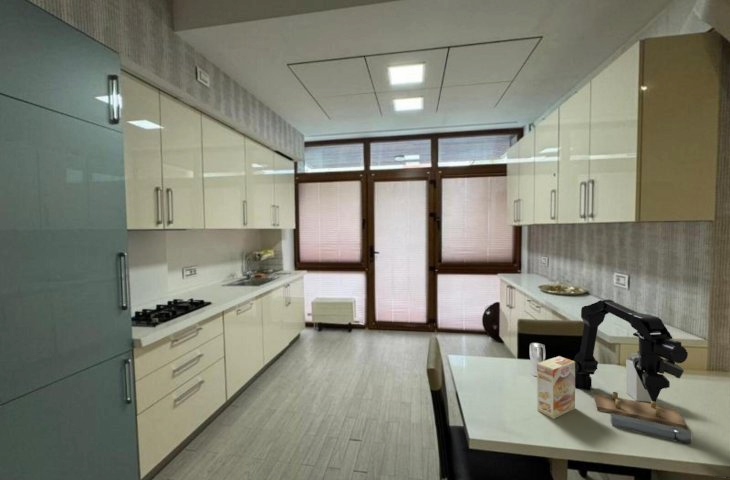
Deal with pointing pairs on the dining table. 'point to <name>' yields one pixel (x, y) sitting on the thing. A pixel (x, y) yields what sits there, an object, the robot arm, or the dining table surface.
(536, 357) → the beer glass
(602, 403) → the tool rest
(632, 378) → the milk carton
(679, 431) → the grey ball-topped bar
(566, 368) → the coffeecake box
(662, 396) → the dining table surface
